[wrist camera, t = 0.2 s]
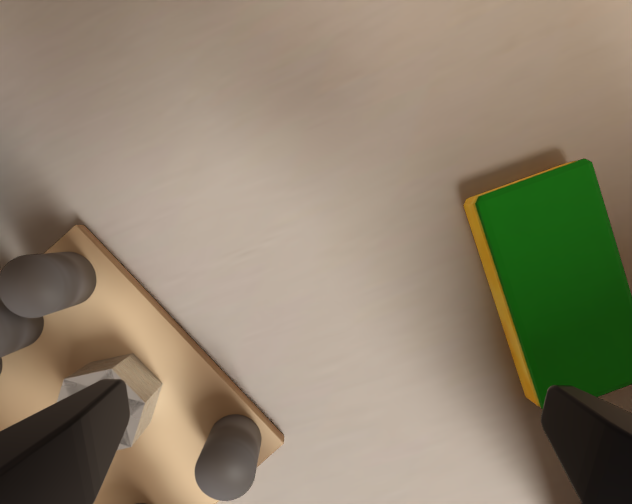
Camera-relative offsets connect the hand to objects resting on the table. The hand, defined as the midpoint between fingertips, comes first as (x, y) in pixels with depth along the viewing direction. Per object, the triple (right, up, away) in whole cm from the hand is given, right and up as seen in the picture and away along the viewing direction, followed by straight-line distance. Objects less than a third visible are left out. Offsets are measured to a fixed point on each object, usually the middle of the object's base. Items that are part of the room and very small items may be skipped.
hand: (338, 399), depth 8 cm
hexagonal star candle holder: (-12, -5, +14) cm, 19 cm away
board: (-14, -7, +15) cm, 21 cm away
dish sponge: (+14, +1, +16) cm, 22 cm away
